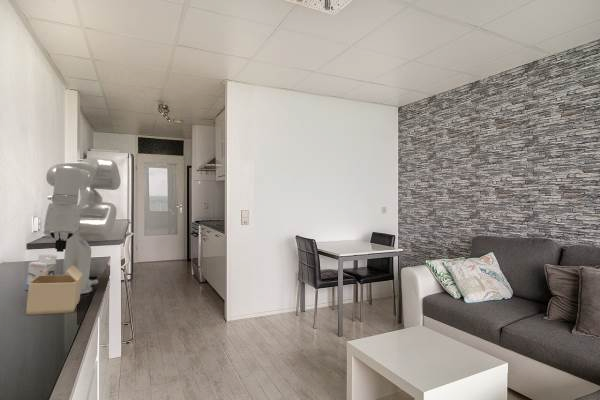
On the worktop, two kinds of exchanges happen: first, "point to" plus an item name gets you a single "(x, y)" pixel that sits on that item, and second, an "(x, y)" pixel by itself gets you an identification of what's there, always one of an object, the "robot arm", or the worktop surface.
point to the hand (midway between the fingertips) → (60, 251)
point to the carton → (53, 294)
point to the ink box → (41, 267)
